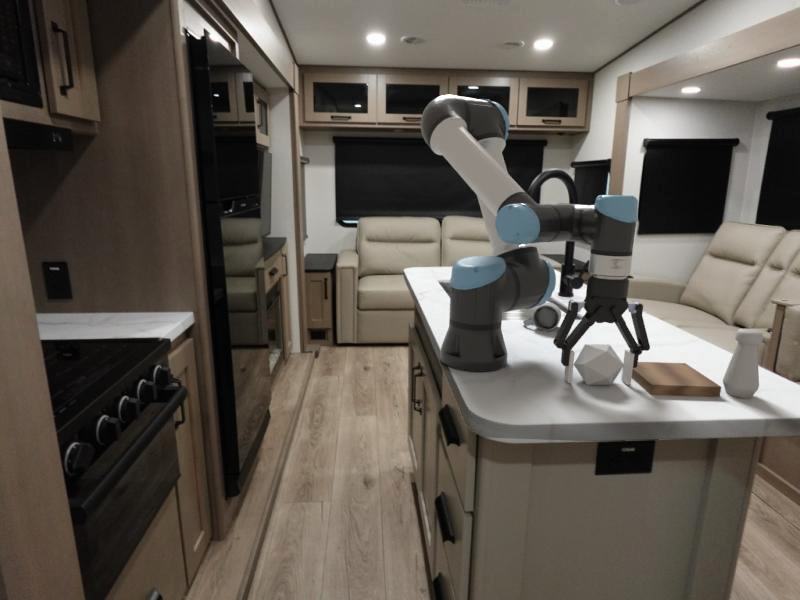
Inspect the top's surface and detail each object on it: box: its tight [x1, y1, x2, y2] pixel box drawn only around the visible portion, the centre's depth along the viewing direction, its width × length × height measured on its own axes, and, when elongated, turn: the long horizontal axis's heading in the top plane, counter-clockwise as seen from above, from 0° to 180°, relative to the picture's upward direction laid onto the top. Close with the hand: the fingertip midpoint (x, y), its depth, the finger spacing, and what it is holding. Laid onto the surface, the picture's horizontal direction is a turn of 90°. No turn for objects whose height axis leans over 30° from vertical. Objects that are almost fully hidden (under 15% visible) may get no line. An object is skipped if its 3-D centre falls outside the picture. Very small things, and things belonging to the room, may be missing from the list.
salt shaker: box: [722, 328, 764, 399], centre depth 93 cm, size 6×6×13 cm
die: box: [573, 343, 624, 386], centre depth 98 cm, size 8×9×10 cm
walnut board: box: [631, 361, 722, 398], centre depth 99 cm, size 13×13×2 cm
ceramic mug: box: [522, 302, 562, 332], centre depth 138 cm, size 10×8×7 cm
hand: (596, 381), depth 99 cm, fingers open, 11 cm apart
